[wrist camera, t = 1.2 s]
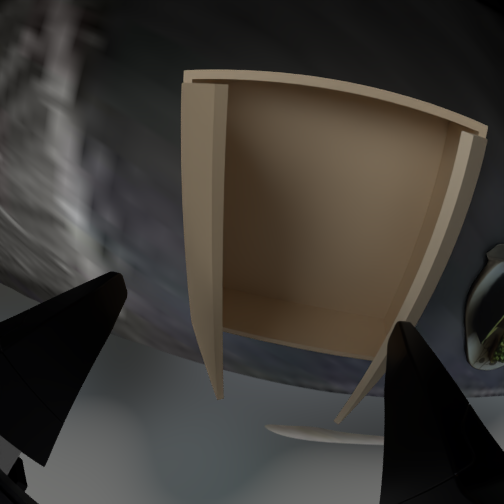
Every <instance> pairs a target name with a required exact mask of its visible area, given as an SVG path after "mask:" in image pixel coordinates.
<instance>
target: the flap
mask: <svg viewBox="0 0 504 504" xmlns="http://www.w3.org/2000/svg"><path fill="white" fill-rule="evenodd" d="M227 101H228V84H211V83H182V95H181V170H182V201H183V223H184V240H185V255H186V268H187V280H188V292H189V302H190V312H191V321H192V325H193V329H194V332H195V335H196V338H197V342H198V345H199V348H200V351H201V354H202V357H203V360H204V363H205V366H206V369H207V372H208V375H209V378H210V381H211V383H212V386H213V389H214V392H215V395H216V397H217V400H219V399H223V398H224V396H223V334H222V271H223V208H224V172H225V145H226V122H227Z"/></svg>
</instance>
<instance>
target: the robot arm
mask: <svg viewBox="0 0 504 504" xmlns="http://www.w3.org/2000/svg"><path fill="white" fill-rule="evenodd" d="M480 1H482V2H484V3H486V4H488V5H490V6H492V7H493V8H495V9H497V10H499V11H500V12H502V13H504V0H480ZM126 298H127V289H126V286H125V282H124V279H123V276H122V274H120V273H117V272H108V273H106V274H104V275H102V276H99V277H97V278H95V279H93V280H90V281H88V282H86V283H84V284H82V285H79V286H77V287H75V288H73V289H71V290H68V291H66V292H64V293H62V294H60V295H58V296H55V297H53V298H51V299H49V300H47V301H45V302H43V303H41V304H39V305H36V306H34V307H32V308H30V310H29V309H28V310H26V311H24V312H22V313H20V314H18V315H16V316H13V317H11V318H9V319H7V320H4V321H2V322H0V504H38V503H37V502H36V501H34V500H33V499H32V498H31V497H29V495H27V494H26V493H25V490H26V488H27V482H26V477H25V472H24V467H23V461H22V459H21V458H20V457H18V456H19V455H20V453H21V452H23V453H24V454H26V455H27V456H28V457H30V458H31V459H33V460H34V461H35V462H37V463H39V464H40V465H42V466H43V467H44V466H45V465H46V463H47V460H48V458H49V456H50V453H51V451H52V449H53V446H54V444H55V442H56V440H57V437H58V435H59V433H60V430H61V428H62V426H63V423H64V422H65V419H66V417H67V415H68V413H69V411H70V409H71V407H72V405H73V403H74V401H75V399H76V397H77V395H78V393H79V391H80V389H81V387H82V385H83V383H84V381H85V379H86V377H87V375H88V373H89V371H90V370H91V367H92V366H93V364H94V362H95V360H96V358H97V357H98V355H99V353H100V351H101V349H102V347H103V346H104V344H105V342H106V340H107V339H108V337H109V335H110V333H111V331H112V329H113V327H114V324H115V322H116V320H117V318H118V316H119V313H120V311H121V309H122V307H123V305H124V303H125V301H126ZM384 402H385V425H384V426H385V427H384V456H383V472H382V486H381V495H380V504H504V451H502V449H501V448H500V446H499V445H498V443H497V442H496V441H495V440H494V438H493V437H492V435H491V434H490V433H489V431H488V430H487V429H486V427H485V426H484V425H483V423H482V421H481V420H480V419H479V417H478V416H477V414H476V412H475V411H474V409H473V408H472V406H471V405H470V404H469V402H468V400H467V399H466V397H465V396H464V394H463V393H462V391H461V390H460V388H459V387H458V386H457V384H456V383H455V381H454V380H453V378H452V377H451V376H450V374H449V373H448V371H447V370H446V368H445V367H444V366H443V364H442V363H441V362H440V360H439V359H438V357H437V356H436V355H435V353H434V352H433V351H432V349H431V348H430V347H429V345H428V344H427V343H426V341H425V340H424V339H423V337H422V336H421V335H420V334H419V332H418V331H417V330H416V328H415V327H414V326H413V325H412V323H411V322H408V321H397V323H396V324H395V326H394V329H393V331H392V333H391V335H390V337H389V340H388V344H387V360H386V375H385V388H384Z"/></svg>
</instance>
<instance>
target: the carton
mask: <svg viewBox="0 0 504 504" xmlns="http://www.w3.org/2000/svg"><path fill="white" fill-rule="evenodd" d="M184 83H211V84H228V101H227V122H226V145H225V172H224V208H223V271H222V331H224V332H227V333H231V334H236V335H240V336H244V337H248V338H252V339H257V340H261V341H266V342H270V343H275V344H279V345H284V346H289V347H294V348H299V349H304V350H310V351H315V352H320V353H326V354H332V355H338V356H344V357H350V358H357V359H363V360H370V361H373V360H374V358H375V356H376V354H377V353H378V351H379V349H380V347H381V346H382V344H383V342H384V340H385V338H386V337H387V335H388V333H389V331H390V329H391V327H392V325H393V323H394V321H395V319H396V317H397V315H398V313H399V311H400V309H401V307H402V305H403V303H404V301H405V299H406V297H407V295H408V293H409V290H410V288H411V286H412V284H413V282H414V279H415V277H416V275H417V272H418V270H419V268H420V265H421V263H422V260H423V258H424V255H425V253H426V250H427V248H428V245H429V243H430V240H431V237H432V235H433V232H434V229H435V226H436V223H437V220H438V218H439V215H440V212H441V208H442V205H443V202H444V199H445V196H446V192H447V189H448V186H449V182H450V178H451V175H452V171H453V167H454V163H455V159H456V155H457V151H458V146H459V142H460V137H461V132H462V131H465V132H468V133H471V134H475V135H478V136H481V137H483V138H485V139H486V134H487V129H488V126H486V125H484V124H482V123H480V122H477V121H475V120H473V119H470V118H468V117H465V116H463V115H460V114H458V113H455V112H452V111H450V110H447V109H444V108H442V107H439V106H436V105H433V104H430V103H427V102H424V101H421V100H417V99H414V98H411V97H407V96H404V95H400V94H397V93H393V92H389V91H385V90H381V89H377V88H373V87H369V86H364V85H360V84H355V83H350V82H345V81H339V80H333V79H327V78H321V77H314V76H307V75H298V74H289V73H279V72H267V71H250V70H186V71H184Z"/></svg>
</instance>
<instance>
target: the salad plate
mask: <svg viewBox="0 0 504 504" xmlns="http://www.w3.org/2000/svg"><path fill="white" fill-rule="evenodd" d="M486 254H487V257H488V260H489V261H488V263H487V265H486V266H485V267H484V269H483V270H482V271H481V273H480V274H479V275H478V277H477V278H476V280H475V281H474V283H473V285H472V287H471V289H470V291H469V294H468V297H467V301H466V308H465V319H464V325H465V353H466V358H467V362H468V363H469V364H470V365H471V366H472V367H474V368H476V369H480V370H492V369H496V368H499V367H501V366H503V365H504V244H498V245H496V246H495V247H494V248H493V249H491V250H490V251H489V252H487V253H486Z"/></svg>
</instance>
